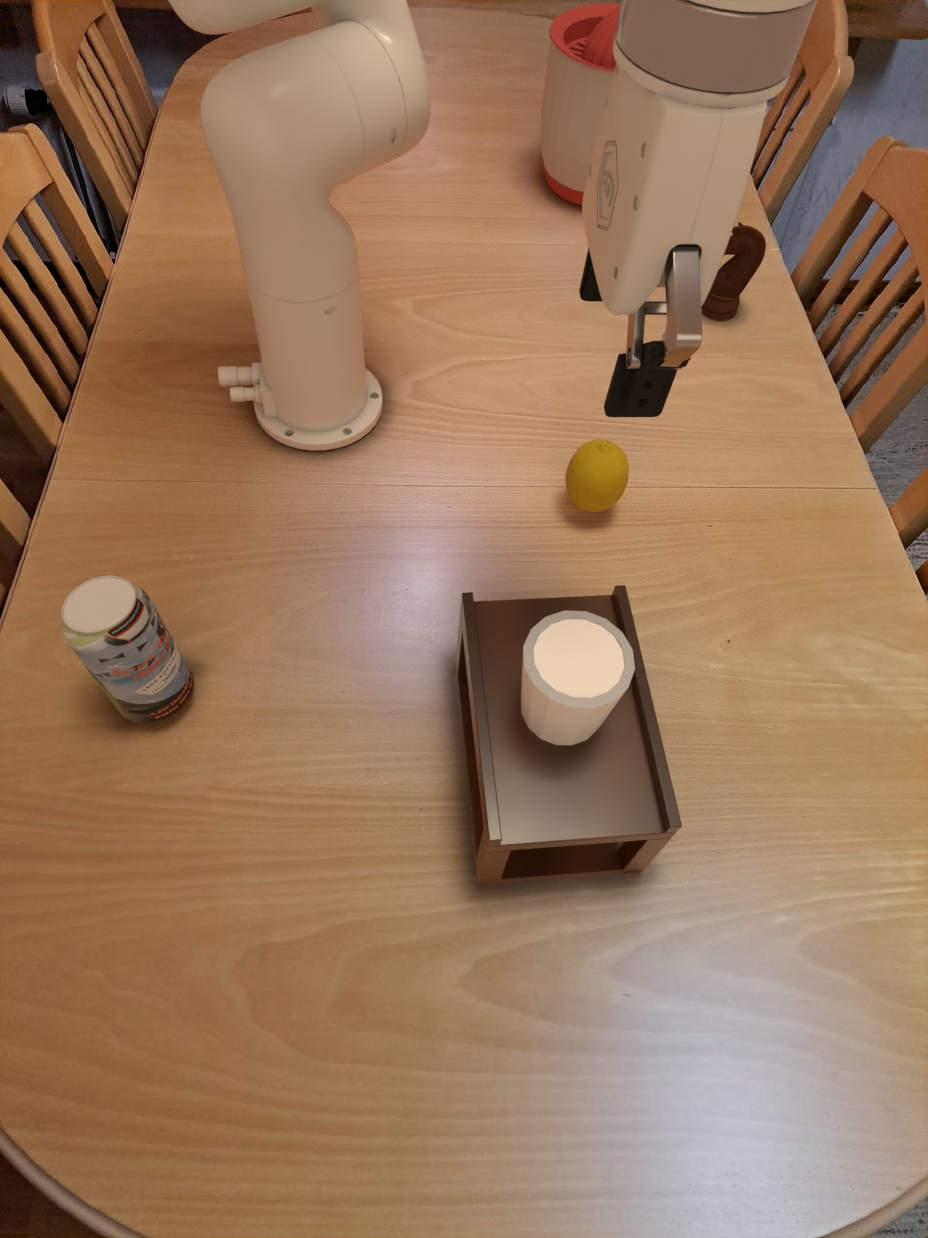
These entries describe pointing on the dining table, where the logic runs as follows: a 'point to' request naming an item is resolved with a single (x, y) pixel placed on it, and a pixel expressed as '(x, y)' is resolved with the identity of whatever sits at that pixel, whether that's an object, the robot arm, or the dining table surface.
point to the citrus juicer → (576, 94)
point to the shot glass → (573, 675)
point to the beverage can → (127, 648)
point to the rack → (556, 757)
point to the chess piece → (735, 272)
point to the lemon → (597, 475)
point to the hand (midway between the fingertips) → (616, 352)
